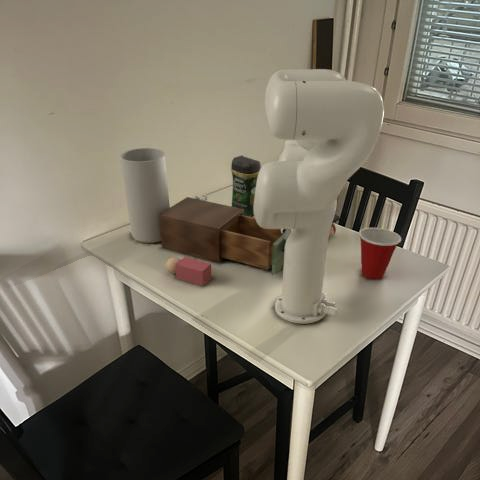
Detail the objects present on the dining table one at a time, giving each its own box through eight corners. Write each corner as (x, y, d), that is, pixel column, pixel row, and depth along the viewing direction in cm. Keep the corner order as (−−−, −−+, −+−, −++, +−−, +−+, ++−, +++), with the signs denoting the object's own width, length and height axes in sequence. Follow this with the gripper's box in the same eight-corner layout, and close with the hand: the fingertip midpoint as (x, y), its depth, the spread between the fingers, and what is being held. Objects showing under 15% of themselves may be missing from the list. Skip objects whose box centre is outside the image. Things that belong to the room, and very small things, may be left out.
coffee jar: (227, 211, 167) (226, 157, 156) (244, 205, 172) (244, 151, 161) (247, 220, 162) (247, 164, 151) (263, 213, 166) (265, 158, 155)
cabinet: (243, 242, 149) (243, 209, 142) (219, 263, 138) (218, 228, 132) (189, 229, 156) (187, 196, 150) (162, 248, 146) (158, 214, 140)
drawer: (311, 257, 139) (314, 228, 134) (292, 278, 130) (294, 249, 124) (239, 239, 148) (239, 212, 143) (216, 258, 139) (215, 230, 133)
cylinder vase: (180, 234, 153) (173, 154, 139) (148, 248, 146) (138, 165, 131) (155, 222, 160) (146, 145, 146) (124, 235, 153) (111, 155, 138)
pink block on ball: (212, 278, 132) (211, 263, 129) (203, 286, 129) (202, 271, 126) (172, 267, 137) (171, 252, 134) (163, 274, 134) (161, 259, 131)
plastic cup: (401, 275, 133) (410, 235, 126) (377, 289, 127) (385, 248, 120) (368, 260, 140) (375, 221, 132) (344, 273, 134) (350, 233, 127)
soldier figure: (195, 223, 162) (182, 200, 168) (204, 228, 166) (191, 206, 172) (212, 207, 160) (198, 184, 166) (220, 213, 164) (207, 190, 170)
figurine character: (306, 256, 144) (341, 236, 151) (306, 234, 140) (342, 214, 146) (291, 248, 149) (325, 229, 155) (290, 226, 144) (325, 207, 150)
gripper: (299, 201, 116) (295, 269, 127) (321, 181, 127) (315, 245, 137) (271, 196, 119) (268, 262, 129) (294, 177, 129) (290, 240, 140)
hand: (292, 253), depth 133 cm, fingers closed
